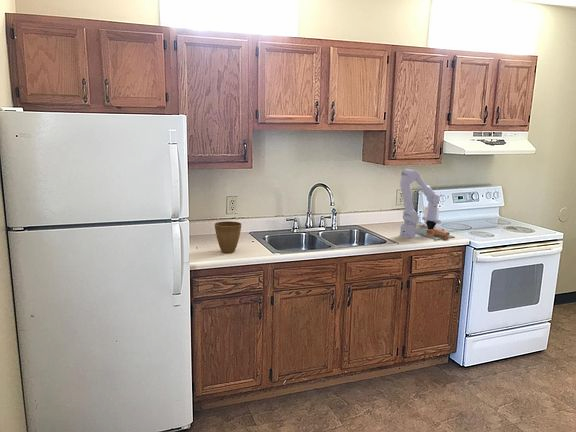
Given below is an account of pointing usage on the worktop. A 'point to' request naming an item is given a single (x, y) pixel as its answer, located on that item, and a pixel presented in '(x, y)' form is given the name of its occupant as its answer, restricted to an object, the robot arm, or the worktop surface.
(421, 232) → the mat
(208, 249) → the worktop surface
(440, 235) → the t block
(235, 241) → the plant pot
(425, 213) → the jar
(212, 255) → the worktop surface
